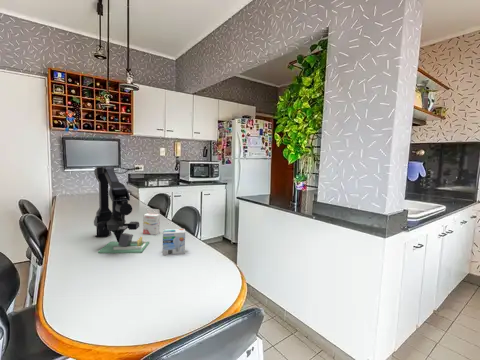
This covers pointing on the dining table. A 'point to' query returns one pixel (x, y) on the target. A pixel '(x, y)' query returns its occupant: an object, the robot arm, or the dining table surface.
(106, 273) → the dining table surface
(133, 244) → the board
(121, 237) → the block
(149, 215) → the ink cartridge box
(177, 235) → the light bulb box
